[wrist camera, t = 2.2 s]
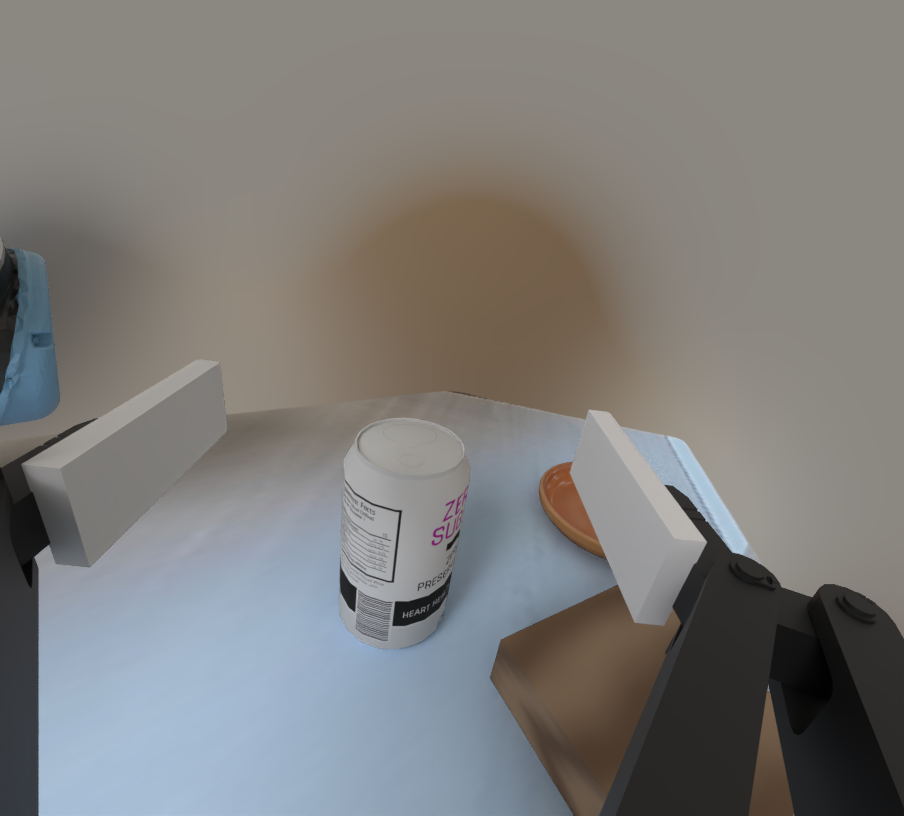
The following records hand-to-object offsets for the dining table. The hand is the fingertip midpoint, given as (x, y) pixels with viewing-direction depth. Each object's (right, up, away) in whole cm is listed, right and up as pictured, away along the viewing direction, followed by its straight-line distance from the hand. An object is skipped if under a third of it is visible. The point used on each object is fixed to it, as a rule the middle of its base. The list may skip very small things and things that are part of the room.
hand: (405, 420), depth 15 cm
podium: (+14, -21, +12) cm, 28 cm away
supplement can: (-3, -15, +18) cm, 24 cm away
